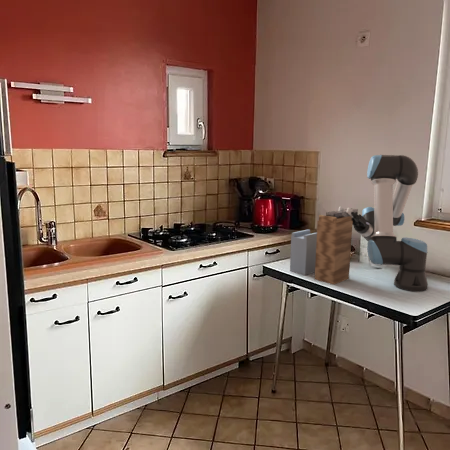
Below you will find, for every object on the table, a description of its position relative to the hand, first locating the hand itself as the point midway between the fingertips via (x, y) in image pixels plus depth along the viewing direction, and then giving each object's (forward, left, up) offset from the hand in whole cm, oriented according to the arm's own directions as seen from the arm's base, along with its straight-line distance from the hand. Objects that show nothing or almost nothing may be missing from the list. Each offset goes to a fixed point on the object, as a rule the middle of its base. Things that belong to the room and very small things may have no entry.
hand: (343, 209), depth 229 cm
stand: (0, +7, -35) cm, 36 cm away
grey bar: (0, +1, -5) cm, 5 cm away
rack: (+18, +5, -35) cm, 40 cm away
